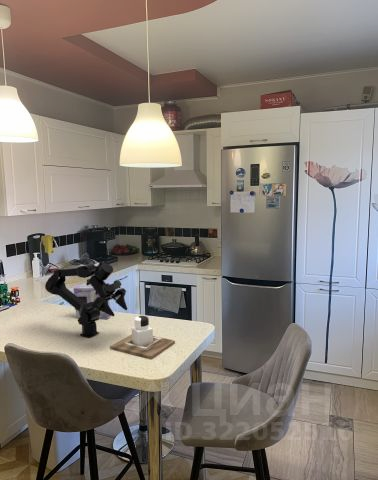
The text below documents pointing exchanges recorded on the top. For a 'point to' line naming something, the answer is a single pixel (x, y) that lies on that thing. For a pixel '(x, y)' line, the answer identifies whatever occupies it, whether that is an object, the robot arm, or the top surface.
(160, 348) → the walnut stand
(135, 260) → the top surface
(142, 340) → the medicine bottle
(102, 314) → the cake pan box
